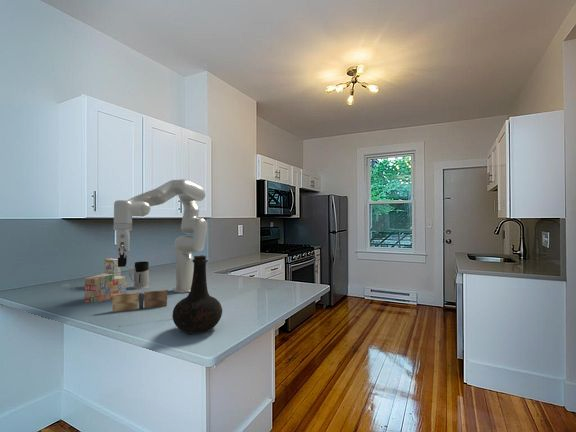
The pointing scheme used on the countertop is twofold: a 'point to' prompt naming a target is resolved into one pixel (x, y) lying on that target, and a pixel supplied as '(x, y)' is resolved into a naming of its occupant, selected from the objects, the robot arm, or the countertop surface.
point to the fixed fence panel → (153, 299)
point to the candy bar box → (112, 267)
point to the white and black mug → (140, 275)
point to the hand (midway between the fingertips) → (122, 265)
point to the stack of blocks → (103, 287)
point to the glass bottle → (197, 303)
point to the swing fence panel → (125, 301)
